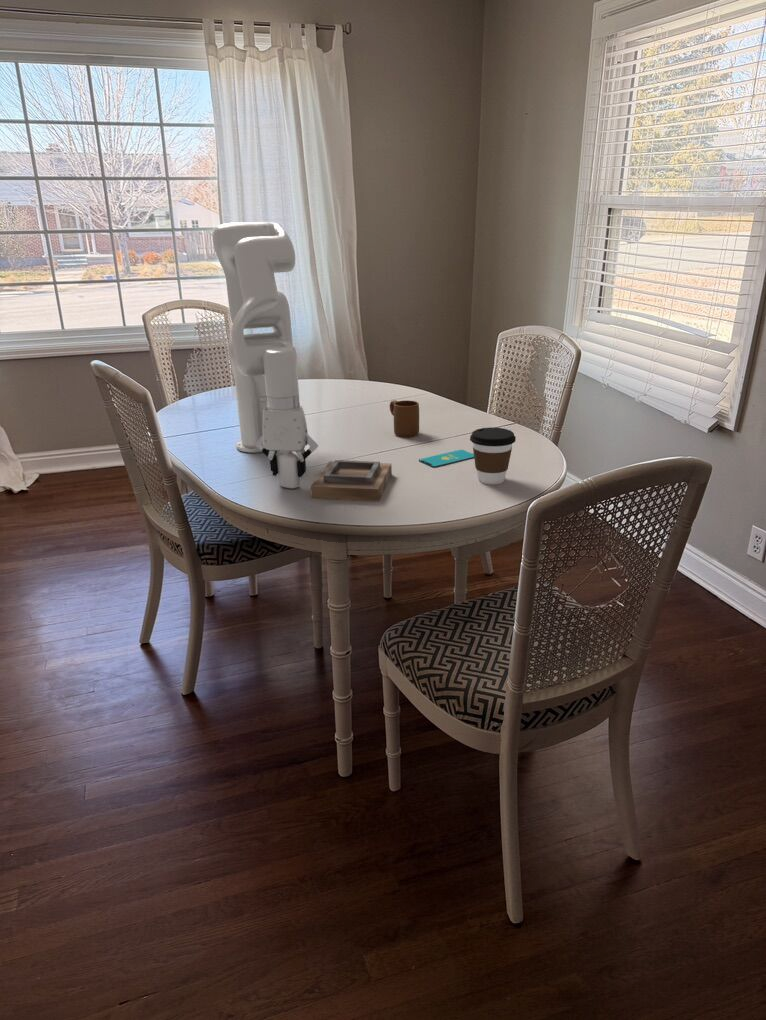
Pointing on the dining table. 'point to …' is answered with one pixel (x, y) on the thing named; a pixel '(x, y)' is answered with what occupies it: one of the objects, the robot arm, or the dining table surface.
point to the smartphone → (447, 458)
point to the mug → (405, 418)
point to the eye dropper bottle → (288, 469)
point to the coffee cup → (492, 453)
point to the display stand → (352, 480)
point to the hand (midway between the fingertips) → (288, 474)
